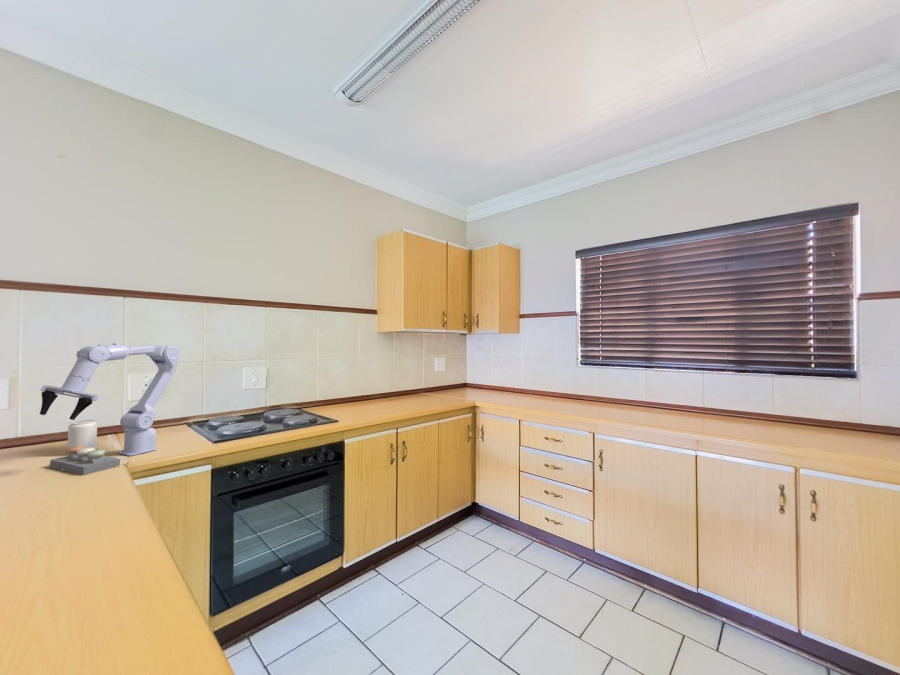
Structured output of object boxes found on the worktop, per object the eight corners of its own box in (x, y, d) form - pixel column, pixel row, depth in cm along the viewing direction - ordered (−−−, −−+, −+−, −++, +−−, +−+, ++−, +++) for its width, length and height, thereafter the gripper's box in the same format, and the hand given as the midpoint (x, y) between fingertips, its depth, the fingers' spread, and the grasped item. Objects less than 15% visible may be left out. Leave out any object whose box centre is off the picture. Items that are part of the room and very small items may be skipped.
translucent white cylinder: (77, 456, 140) (78, 424, 140) (61, 454, 141) (62, 423, 141) (101, 450, 147) (102, 420, 148) (86, 448, 149) (87, 419, 149)
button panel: (49, 467, 127) (50, 459, 127) (86, 458, 136) (87, 452, 136) (83, 475, 120) (83, 467, 120) (119, 465, 129) (120, 458, 129)
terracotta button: (80, 456, 133) (80, 445, 133) (87, 458, 132) (87, 446, 132) (63, 460, 129) (64, 448, 129) (70, 462, 127) (71, 449, 128)
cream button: (89, 459, 131) (90, 446, 131) (97, 460, 129) (97, 448, 130) (73, 462, 127) (74, 450, 127) (80, 464, 125) (81, 451, 125)
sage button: (99, 461, 129) (100, 448, 129) (107, 462, 127) (107, 450, 127) (83, 464, 125) (84, 452, 125) (91, 466, 123) (91, 453, 123)
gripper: (46, 370, 121) (22, 410, 116) (101, 381, 127) (80, 420, 121) (55, 375, 127) (32, 413, 122) (107, 385, 133) (87, 422, 127)
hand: (57, 417), depth 122 cm, fingers open, 7 cm apart
